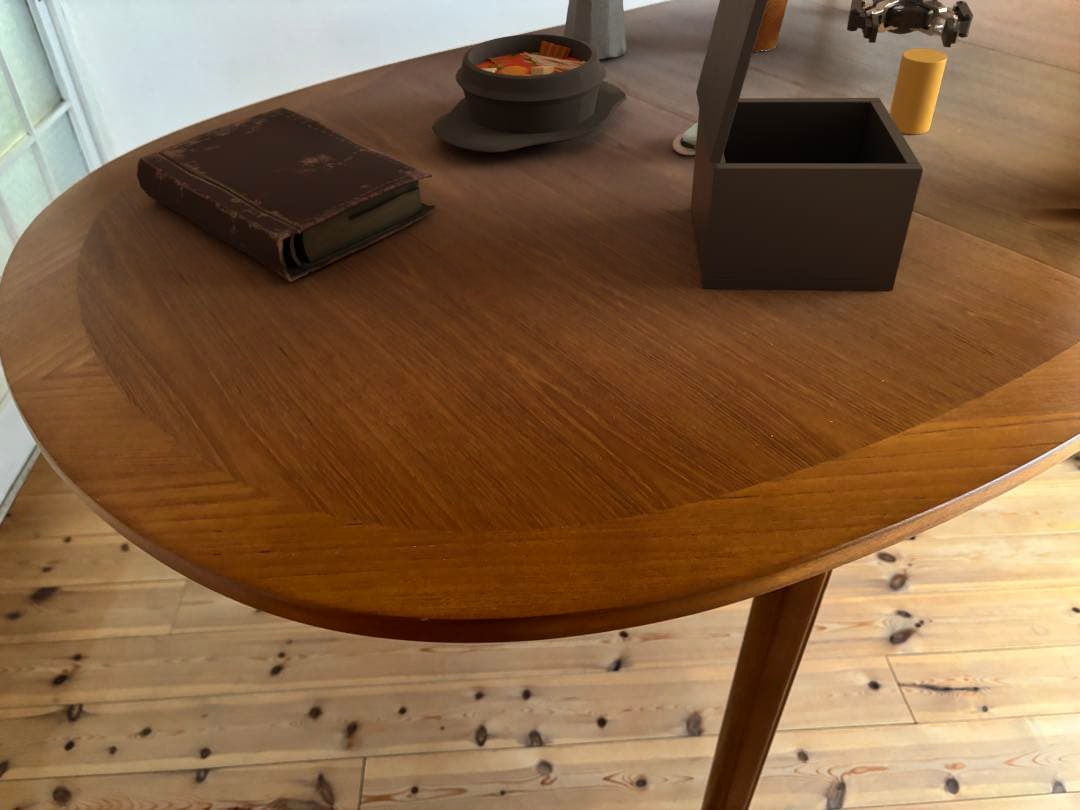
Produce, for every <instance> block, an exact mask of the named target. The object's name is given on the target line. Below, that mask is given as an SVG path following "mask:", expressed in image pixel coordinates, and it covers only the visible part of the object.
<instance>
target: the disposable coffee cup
mask: <svg viewBox="0 0 1080 810" xmlns="http://www.w3.org/2000/svg"><path fill="white" fill-rule="evenodd" d="M788 1H789V0H768V2H767V5H766V9H765V12H764V16H763V19H762V22H761V26H760V29H759V33H758V36H757V39H756V43H755V46H754V50H753V51H761V50H763V51H764V50H769V49H772V48H774V47H775V46H776V47H777V46H778V45H777V44H778V40H779V36H780V33H781V28H782V24H783V22H784V18H785V14H786V10H787V6H788V3H789V2H788ZM776 47H775V48H776ZM775 48H774V49H775ZM772 50H773V49H772ZM769 51H770V50H769Z"/></svg>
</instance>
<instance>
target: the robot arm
mask: <svg viewBox="0 0 1080 810" xmlns="http://www.w3.org/2000/svg"><path fill="white" fill-rule="evenodd" d="M973 19H974V14H973V12H972V10H971V9H970V7H969V5H968V3H967V2H966V1H964V0H957V1H956V2H955V4H953V5H952V7H950V6H949V7H948V6H946V5H944V4H943V3H942V2H941V1H938V0H872V3H869V2H867V0H851V5H850V9H849V13H848V21H847V27H846V30H847V31H849V32H857V31H858V29H861V33H862V35H863V39H866V40H867V39H868V43H869V44H875V43H876V41H877V38H878V37H877V36H878V34H883V33H885V32H889V33H890V34H896V35H906V34H911V33H913V32H920V33H922V34H924V35H926V36H929V37H933V36H940V39H941V43H942V47H943V48H951V46H952V44H953V45H954V44H956V43H957V42H958V38H963V39H964V38H968V37H969V31H970V29H971V24H972V21H973Z"/></svg>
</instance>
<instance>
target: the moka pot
mask: <svg viewBox="0 0 1080 810" xmlns="http://www.w3.org/2000/svg"><path fill="white" fill-rule="evenodd" d="M567 5H568V6H567V11H566V18H565V26H564V31H563V32H564V33H563V37H569V38H573V39H577V40H580V41H583V42H585V43H587V44H589V45H591V46H592V47H593V48H594V49H595V50H596V52H597V55H598V58H599V60H605V59H613V58H618V57H620V56H623V55H624V54H625V53H626V51H625V49H626V50H627V40H626V39H627V38H626V25H625V10H624V9H625V8H624V0H568V4H567ZM622 54H623V55H622Z"/></svg>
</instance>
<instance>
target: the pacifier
mask: <svg viewBox="0 0 1080 810" xmlns="http://www.w3.org/2000/svg"><path fill="white" fill-rule="evenodd" d="M697 128H698V121H697V122H696V123H694V124H693V125H692V126H691V127H689V128H688V129H687V130H686V131H685V132H682V133H680V134H678V135H677V136H676V137H675V138H674V139H673V141H672V148H673V150H674V151H675V152H676V153H678V154H680V155H685V156H695V152H696V140H697ZM683 142H685V143H687V144H689V145H692V146H693V148H692V147H691V148H689V147H685V146H683V145H682V144H683Z"/></svg>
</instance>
